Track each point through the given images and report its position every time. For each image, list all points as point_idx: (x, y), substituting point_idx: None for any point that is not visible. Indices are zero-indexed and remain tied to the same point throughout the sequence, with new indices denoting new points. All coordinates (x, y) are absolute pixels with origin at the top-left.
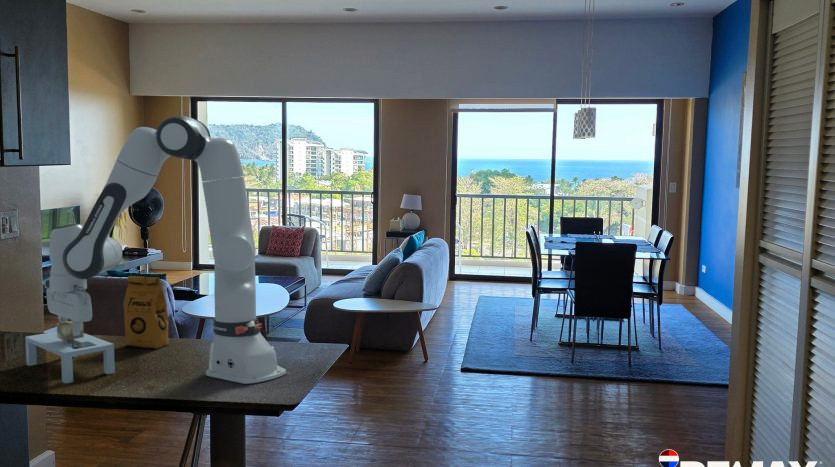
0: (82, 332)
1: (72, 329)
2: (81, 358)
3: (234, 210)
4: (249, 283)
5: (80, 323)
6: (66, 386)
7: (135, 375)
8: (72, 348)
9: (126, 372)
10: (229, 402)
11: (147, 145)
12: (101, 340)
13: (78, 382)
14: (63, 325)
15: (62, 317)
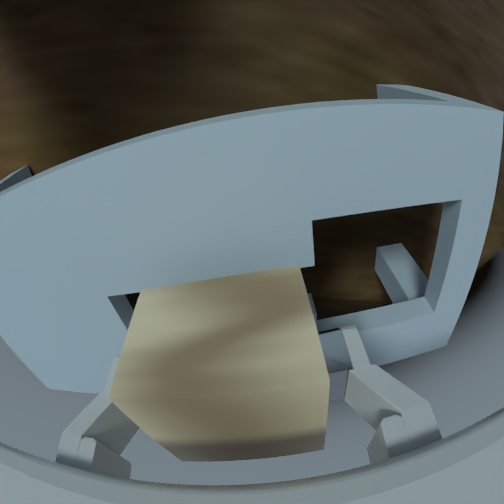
0: (306, 304)
1: (349, 397)
2: (55, 148)
3: None
4: None
5: (422, 407)
6: (423, 266)
7: (476, 55)
8: (412, 319)
9: (426, 50)
10: None
11: None
12: (362, 122)
13: (417, 230)
14: (302, 452)
15: (123, 469)
